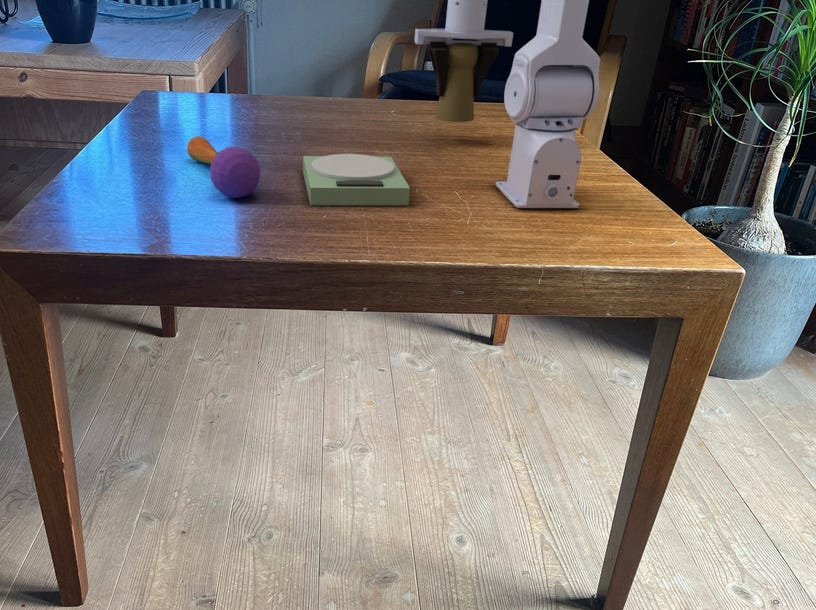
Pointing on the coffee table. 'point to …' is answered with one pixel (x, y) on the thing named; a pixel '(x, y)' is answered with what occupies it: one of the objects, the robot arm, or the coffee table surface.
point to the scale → (354, 180)
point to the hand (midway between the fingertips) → (457, 95)
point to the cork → (459, 84)
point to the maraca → (227, 167)
